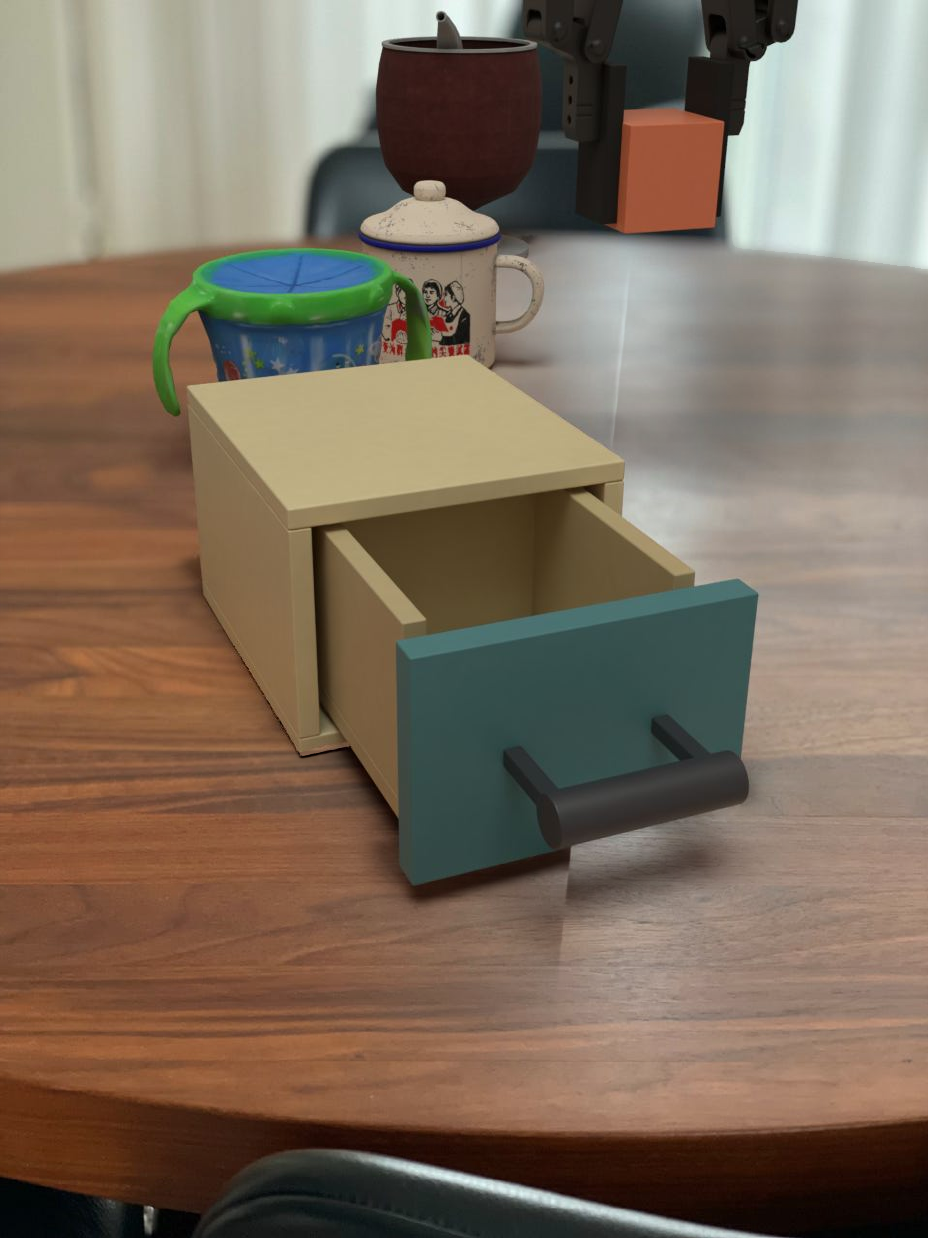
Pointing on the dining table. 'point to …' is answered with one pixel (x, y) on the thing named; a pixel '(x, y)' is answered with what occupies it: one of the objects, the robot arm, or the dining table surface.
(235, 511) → the cabinet
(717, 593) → the drawer
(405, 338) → the teacup with lid
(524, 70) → the mate gourd
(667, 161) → the block
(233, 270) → the snack cup
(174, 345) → the dining table surface
